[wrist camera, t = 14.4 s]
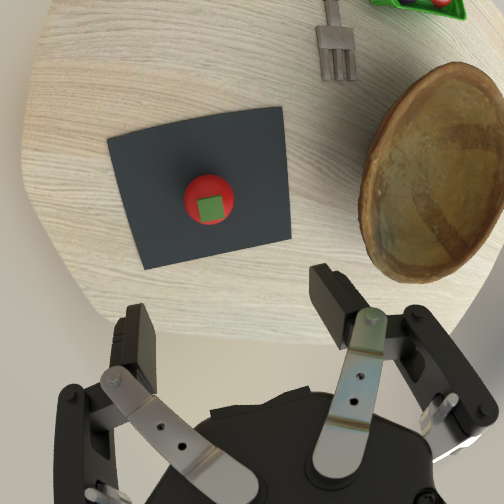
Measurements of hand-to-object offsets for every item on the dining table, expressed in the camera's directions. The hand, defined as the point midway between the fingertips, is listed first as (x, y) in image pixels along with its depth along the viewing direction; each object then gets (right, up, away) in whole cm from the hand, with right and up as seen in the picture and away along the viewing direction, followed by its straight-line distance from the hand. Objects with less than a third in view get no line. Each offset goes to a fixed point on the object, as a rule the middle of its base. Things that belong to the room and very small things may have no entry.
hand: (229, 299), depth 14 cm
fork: (+8, +28, +5) cm, 29 cm away
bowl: (+18, +13, +17) cm, 28 cm away
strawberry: (-3, +8, +14) cm, 16 cm away
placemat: (-3, +8, +14) cm, 17 cm away
